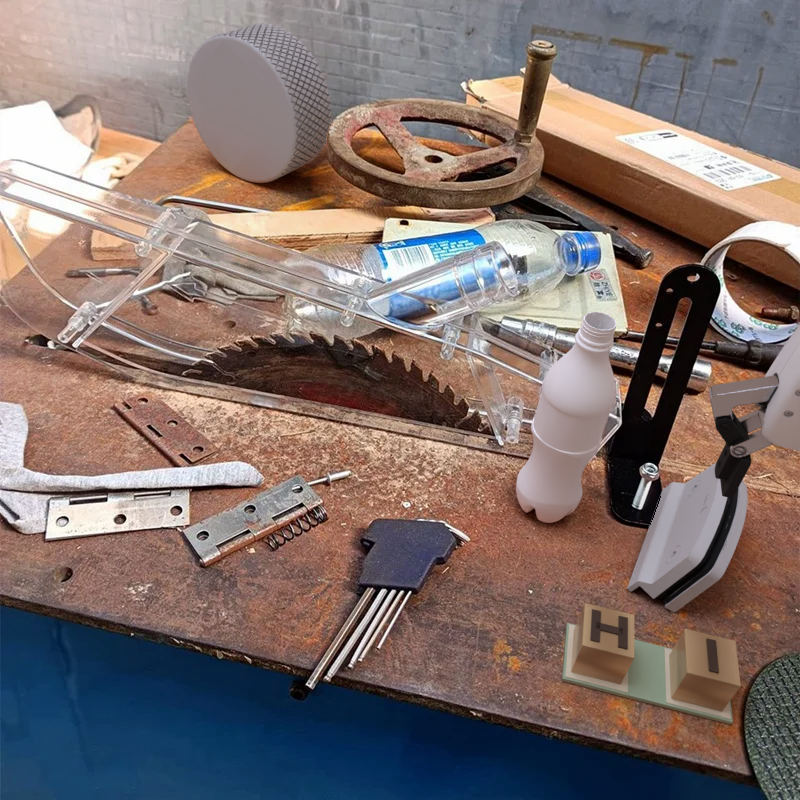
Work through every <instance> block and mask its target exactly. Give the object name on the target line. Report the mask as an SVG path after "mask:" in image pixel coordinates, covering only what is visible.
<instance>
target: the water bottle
mask: <svg viewBox="0 0 800 800" xmlns="http://www.w3.org/2000/svg"><path fill="white" fill-rule="evenodd" d="M581 321H582V322H581V326H580V327H579V328H578V331H577V332H576V333H575V335H574V342H575V343H574V344H573V346H572V347H571V348H570V349H569V350H568V351H567V352H566V353H565V354H563V355H562V356H561V357H560V358H559V359H558V360H557V361H556V362H554V364H552V365H551V367H550V368H549V369H548V370H547V372H546V374H545V375H544V377H543V380H542V383H541V392H540V395H539V399H538V403H537V407H536V411H535V413H534V416H533V418H532V420H531V425H530V431H531V434H532V440H533V445H532V450H531V453H530V456H529V458H528V460H527V461H526V463H525V464H524V465H523V466H522V467H521V469H520V470H519V472H518V475H517V478H516V484H515V493H516V494H515V495H516V498H517V502H518V504H519V506H520V508H521V510H522V511H523V512H525V514H526V513H527V514H528V513H529V512H531V511H533V510H535V515H536V518H537V520H538V521H540V522H542V523H546V524H547V523H548V524H552V523H555V522H558V521H560V520H562V519H563V518H564V517H565V516H566V517H567V516H569V515H570V514H573V512H575V510H576V509H577V508H578V506H579V504H580V503H581V500H582V497H583V495H584V494H583V486H582V477H583V476H582V475H583V473H584V471H585V470H586V469H585V468H586V467H587V465H588V464H589V462H590V461H591V460H592V459H593V458H594V456H595V455H596V454H597V453H598V451H599V449H600V448H601V443H602V441H603V433H604V430H605V428H606V425H607V422H608V419H609V416H610V413H611V412H612V411H611V410H613V408H614V406H615V404H616V399H617V382H616V379H615V374H614V371H613V368H612V365H611V362H610V351H612V349H613V348H614V343H615V342H614V341H615V340H614V339H615V338H614V335H615V332H616V329H617V321H616V319H615V318H614V317H612V316H611V315H609V314H608V313H605V312H601V311H589V312H587V313H586V314H585V315H584V316H583V318H582V320H581Z"/></svg>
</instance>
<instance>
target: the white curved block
mask: <svg viewBox="0 0 800 800" xmlns="http://www.w3.org/2000/svg"><path fill="white" fill-rule="evenodd" d="M715 465H716V462H715V463H713V464H711V465H710V466H708V467H706V469H704V470H703V471H701V472H700V473H697V475H695V476H694V477H692V478H691V479H689V480H688V481H686V482H678V481H677V482H676V481H672V482H670V483H668V485H667V486H665V487H664V488H663V489H662V490H661V493H660V496H661V498H660V497H659V498H660V501H659V500H658V501H659V504H658V503H657V504H658V507H657V506H656V507H657V509H656V508H655V509H656V512H655V511H654V512H655V515H654V514H653V515H654V518H653V517H652V518H653V520H652V519H651V521H652V522H651V521H650V523H651V525H650V524H649V525H648V529H647V532H646V535H645V537H644V540H643V543H642V546H641V549H640V550H639V551H640V552H639V553H638V557H637V560H636V563H635V565H634V568H633V570H632V573H631V575H630V579H629V582H628V584H627V587H626V588H627V590H628V591H629V592H630V593H633V591H635V590H636V589H638V588H639V587H640V588H641V589H642V590H643V591H644V592H645V593H646V594H648V595H649V597H651V598H652V600H654V599H656V598H658V599H661V598H663V602H664V608H665V609H667V610H669V611H671V612H672V613H677V612H678V611H679V610H680V609H682V608H683V607H684V606H686V605H687V604H689V603H690V602H691V601H693V600H694V599H695V598H697V597H698V596H699V595H701V594H702V593H704V592H705V591H706V590H707V589H710V587H712V586H714V584H716V583H717V582H719V581H720V579H722V577H723V576H724V575H725V572H726V571H727V568H728V566H729V565H730V562H731V561H732V560H731V559H732V558H733V555H734V554H735V551H736V548H737V546H738V543H739V541H740V538H741V535H742V532H743V530H744V529H743V528H744V525H745V521H746V518H747V517H746V516H747V511H748V501H749V498H748V497H749V495H748V494H749V493H748V487H747V484H746V483H745V482H744V479H743V480H742V482H741V484H740V486H739V487H738V489H737V491H736V493H735V495H734V496H733V497H732V496H731V498H728V497H724V496H722V490H721V482H720V479H717V478H716V477H715ZM663 596H664V597H663Z"/></svg>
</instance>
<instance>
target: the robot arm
mask: <svg viewBox="0 0 800 800" xmlns="http://www.w3.org/2000/svg"><path fill="white" fill-rule="evenodd" d="M708 390H709V391H708V392H709V394H708V395H709V400H710V401H709V402H710V407H711V410H712V416H713V419H714V424H715V429H716V431H717V432H718V434H719V436H720V437H721V438H722V439H723V441H724V442H725V444H724V446H723V448H722V450H721V452H720V454H719V456H718V458H717V460H716V462H715V463H716V465H715V477H716V478H717V479H720V482H721V490H722V496H724V497H728V498H731V496H732V497H733V496H734V495H735V493H736V491H737V489H738V487H739V486H740V484H741V482H742V480H743V481H744V478H745V476H746V475H747V473H748V471H749V469H750V468H751V466H752V456H751V454H754V453H756V452H759V451H761V450H764V449H765V448H768V447H770V446H772V445H774V446H778V447H781V448H785V449H787V450H793V451H797V452H800V324H799V325H797V327H796V329H795V330H794V331H793V333H792V334H791V335H790V336H789V338H788V340H787V341H786V342H785V343H784V345H783V347H782V348H781V350H780V351H779V353H778V354H777V356H776V358H775V359H774V360H773V362H772V364H771V365H770V367H769V369H768V370H767V372H766V374H765V375H764V376H763V377H762V376H761V377H757V378H756V377H755V378H749V379H744V380H738V381H731V382H725V383H719V384H718V383H717V384H714V385H712V386H710V388H709V389H708ZM753 404H754V407H756V408H757V409H756V410H754V411H752V412H749V413H747V414H745V415H742V416H740V417H737V415H736V414H735V413H734V411H733V409H734V408H736V407H740V406H747V405H753Z"/></svg>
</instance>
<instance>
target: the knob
mask: <svg viewBox="0 0 800 800" xmlns="http://www.w3.org/2000/svg"><path fill="white" fill-rule="evenodd" d="M305 45H306V44H304V43H303V41H302V40H300V38H297V36H296V35H295V34H294V33H293V34H292V33H291V31H289V30H286V28H283V27H281V26H279V25H276V24H273V23H267V22H266V23H265V22H263V23H255V24H252V25H247V26H244V27H240V28H237V29H233V30H230V31H226V32H223V33H219V34H215V35H214V36H211V37H208V38H207V39H206V40H204V42H203V41H202V43H201V44H200V45H199V46H198V47H197V49H196V50H195V52H194V54H193V56H192V58H191V61H190V63H189V67H188V72H187V81H186V89H187V100H188V105H189V110H190V114H191V116H192V120H193V123H194V126H195V128H196V130H197V133H198V134H199V136H200V138H201V140H202V142H203V144H204V145H205V147H206V149H207V150H208V151H209V153H210V154H211V155H212V157H213V158H214V159H215V160H216V161H217V162H218V163H219V164H220V165H221V166H222V167H223V168H224V169H226V171H228V172H230V173H231V174H232V175H234V176H235V177H237V178H240V179H241V180H244V181H247V182H250V183H257V184H259V183H260V184H264V183H269V182H274V181H275V180H278V179H280V178H281V177H284V176H286V175H288V174H289V173H292V172H294V171H296V170H298V169H300V168H301V167H303V166H306V165H308V164H309V163H311V162H313V161H314V160H315V159H317V157H319V155H320V154H321V153H322V152H323V151H322V150H324V148H325V147H326V146H325V145H327V142H328V138H327V133H328V134H329V132H328V130H329V127H330V126H332V118H333V117H332V115H333V113H332V110H333V109H332V101H331V94H330V91H329V89H328V88H329V87H328V85H327V84H328V83H327V81H326V78H325V75H324V74H323V71H322V70H321V68H322V67H320V66H319V65H320V64H319V63H317V61H318V60H317V59H315V56H313V53H312V52H311V50H310V49H308V47H307V46H305Z"/></svg>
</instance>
